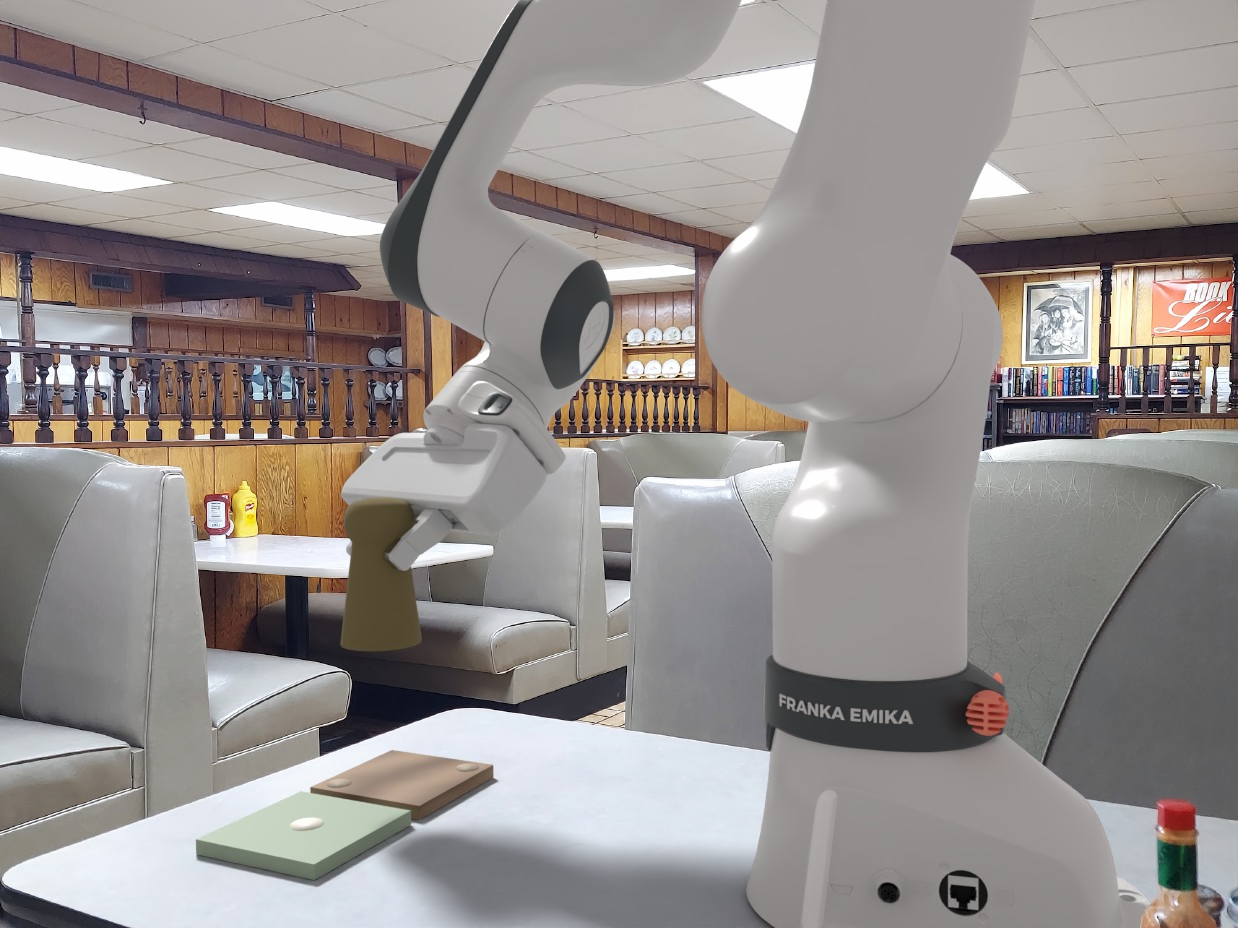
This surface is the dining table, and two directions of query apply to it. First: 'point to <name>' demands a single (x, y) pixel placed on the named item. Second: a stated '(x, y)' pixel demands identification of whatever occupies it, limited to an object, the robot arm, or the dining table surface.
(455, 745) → the dining table surface
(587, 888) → the dining table surface
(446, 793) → the tile two
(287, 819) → the tile one
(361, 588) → the cork
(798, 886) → the robot arm
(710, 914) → the dining table surface
